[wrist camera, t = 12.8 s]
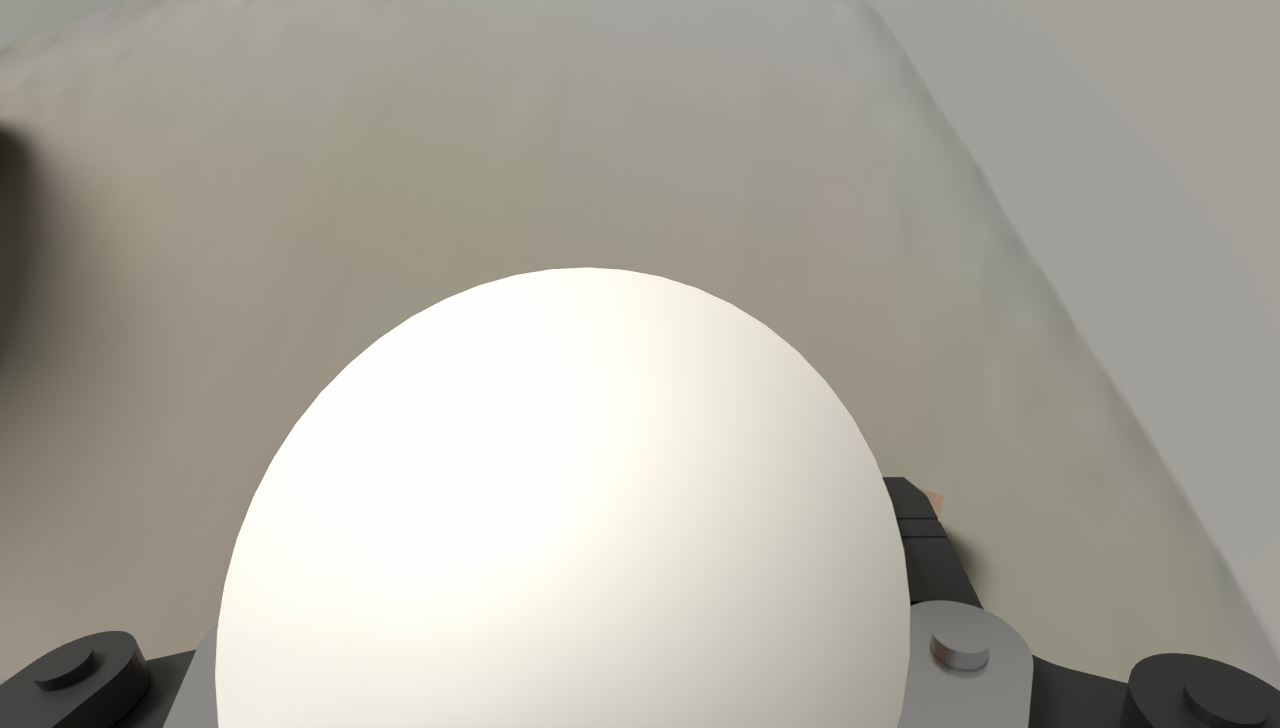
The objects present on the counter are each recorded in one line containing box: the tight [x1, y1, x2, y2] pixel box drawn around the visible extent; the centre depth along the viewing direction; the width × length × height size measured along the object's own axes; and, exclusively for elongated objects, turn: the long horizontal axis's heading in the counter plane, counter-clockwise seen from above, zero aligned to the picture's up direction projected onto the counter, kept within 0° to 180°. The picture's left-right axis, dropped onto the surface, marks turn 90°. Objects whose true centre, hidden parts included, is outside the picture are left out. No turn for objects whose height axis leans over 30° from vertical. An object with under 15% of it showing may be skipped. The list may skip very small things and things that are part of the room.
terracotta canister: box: [215, 268, 910, 728], centre depth 10 cm, size 6×6×10 cm
